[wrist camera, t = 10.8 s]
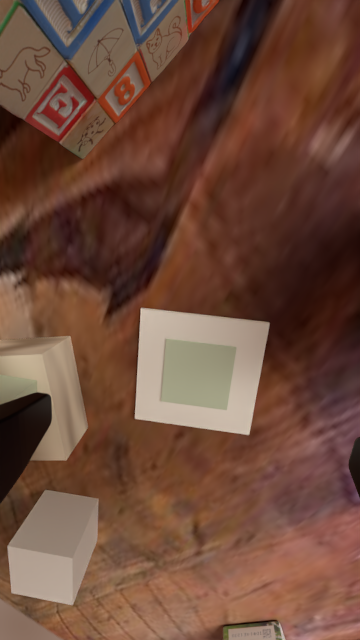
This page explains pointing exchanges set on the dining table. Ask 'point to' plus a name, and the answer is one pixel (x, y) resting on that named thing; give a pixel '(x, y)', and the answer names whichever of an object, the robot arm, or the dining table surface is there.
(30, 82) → the stack of blocks
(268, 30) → the dining table surface
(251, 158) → the dining table surface
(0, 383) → the sage block
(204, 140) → the dining table surface
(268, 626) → the syrup box
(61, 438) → the birch base block
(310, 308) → the dining table surface
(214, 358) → the card
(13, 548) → the grey block
